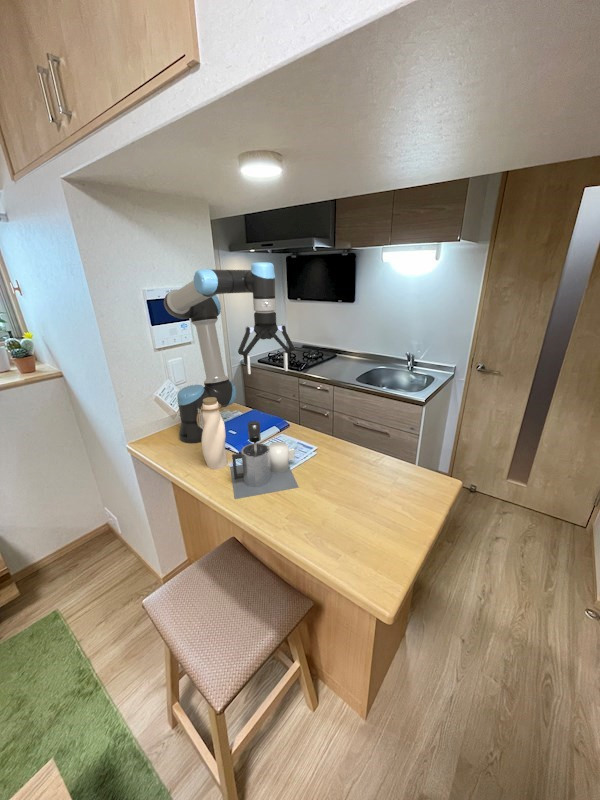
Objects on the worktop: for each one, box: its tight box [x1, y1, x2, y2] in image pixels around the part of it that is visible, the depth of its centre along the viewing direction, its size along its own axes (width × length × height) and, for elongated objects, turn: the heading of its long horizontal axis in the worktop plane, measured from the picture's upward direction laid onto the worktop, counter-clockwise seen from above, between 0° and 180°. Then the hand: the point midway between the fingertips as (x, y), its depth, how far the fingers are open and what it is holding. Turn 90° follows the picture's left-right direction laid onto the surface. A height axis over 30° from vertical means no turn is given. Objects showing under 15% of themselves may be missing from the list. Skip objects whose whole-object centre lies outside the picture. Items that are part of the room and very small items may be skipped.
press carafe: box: [231, 442, 271, 487], centre depth 111 cm, size 10×13×12 cm
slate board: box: [229, 464, 300, 500], centre depth 116 cm, size 20×22×1 cm
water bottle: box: [197, 397, 228, 471], centre depth 118 cm, size 10×9×28 cm
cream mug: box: [268, 441, 296, 473], centre depth 119 cm, size 8×10×9 cm
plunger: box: [247, 420, 261, 456], centre depth 110 cm, size 7×7×19 cm
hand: (267, 371), depth 116 cm, fingers open, 13 cm apart
